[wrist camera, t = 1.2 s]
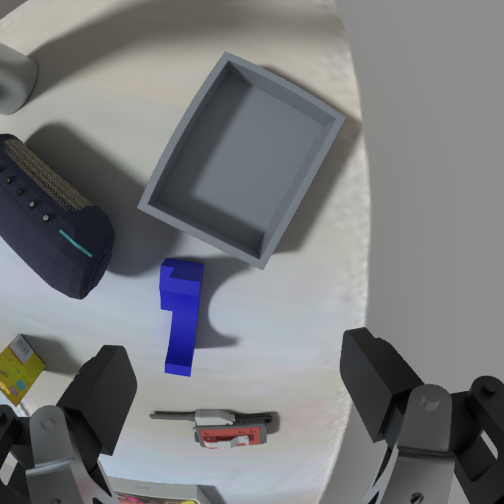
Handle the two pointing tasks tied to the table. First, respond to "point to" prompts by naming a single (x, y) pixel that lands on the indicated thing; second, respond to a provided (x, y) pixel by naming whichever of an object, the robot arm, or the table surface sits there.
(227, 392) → the table surface
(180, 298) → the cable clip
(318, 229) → the table surface
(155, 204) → the bin
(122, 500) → the product packaging
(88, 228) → the portable speaker
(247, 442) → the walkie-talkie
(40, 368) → the crayon box
